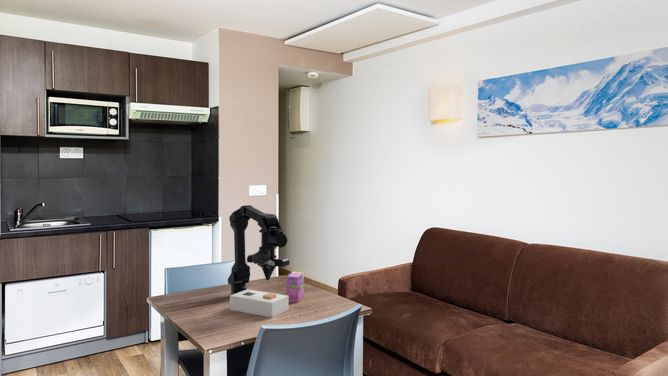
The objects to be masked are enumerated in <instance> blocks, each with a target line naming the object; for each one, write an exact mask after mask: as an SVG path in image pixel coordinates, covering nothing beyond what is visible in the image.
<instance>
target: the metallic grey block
mask: <svg viewBox="0 0 668 376" xmlns="http://www.w3.org/2000/svg"><path fill="white" fill-rule="evenodd" d="M254 294H255V293H251V292H247V293H244V294H242V295H246V296H251V295H254Z"/></svg>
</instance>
